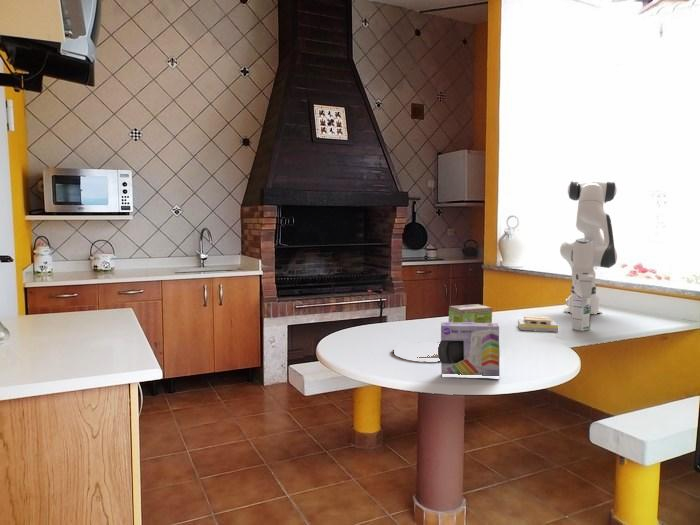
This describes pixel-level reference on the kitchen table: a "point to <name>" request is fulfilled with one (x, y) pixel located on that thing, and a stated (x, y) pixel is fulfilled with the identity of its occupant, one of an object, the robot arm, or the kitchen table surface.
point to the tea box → (470, 313)
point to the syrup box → (581, 314)
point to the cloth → (537, 319)
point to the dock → (538, 326)
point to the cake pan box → (469, 348)
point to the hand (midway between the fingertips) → (581, 305)
